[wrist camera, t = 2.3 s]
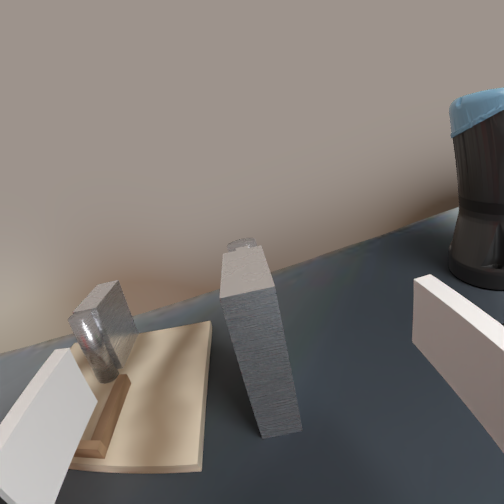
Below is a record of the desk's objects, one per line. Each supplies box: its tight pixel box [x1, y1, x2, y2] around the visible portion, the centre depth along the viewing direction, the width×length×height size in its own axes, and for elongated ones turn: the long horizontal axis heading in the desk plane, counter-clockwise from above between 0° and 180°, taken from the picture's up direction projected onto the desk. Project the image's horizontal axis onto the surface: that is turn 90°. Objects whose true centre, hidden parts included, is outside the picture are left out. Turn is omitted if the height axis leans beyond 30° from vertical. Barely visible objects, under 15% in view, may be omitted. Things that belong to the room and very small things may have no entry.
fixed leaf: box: [68, 280, 139, 384], centre depth 32 cm, size 3×10×8 cm, turn 4°
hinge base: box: [68, 321, 212, 474], centre depth 28 cm, size 20×21×2 cm
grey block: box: [220, 238, 303, 439], centre depth 24 cm, size 3×11×12 cm, turn 4°
